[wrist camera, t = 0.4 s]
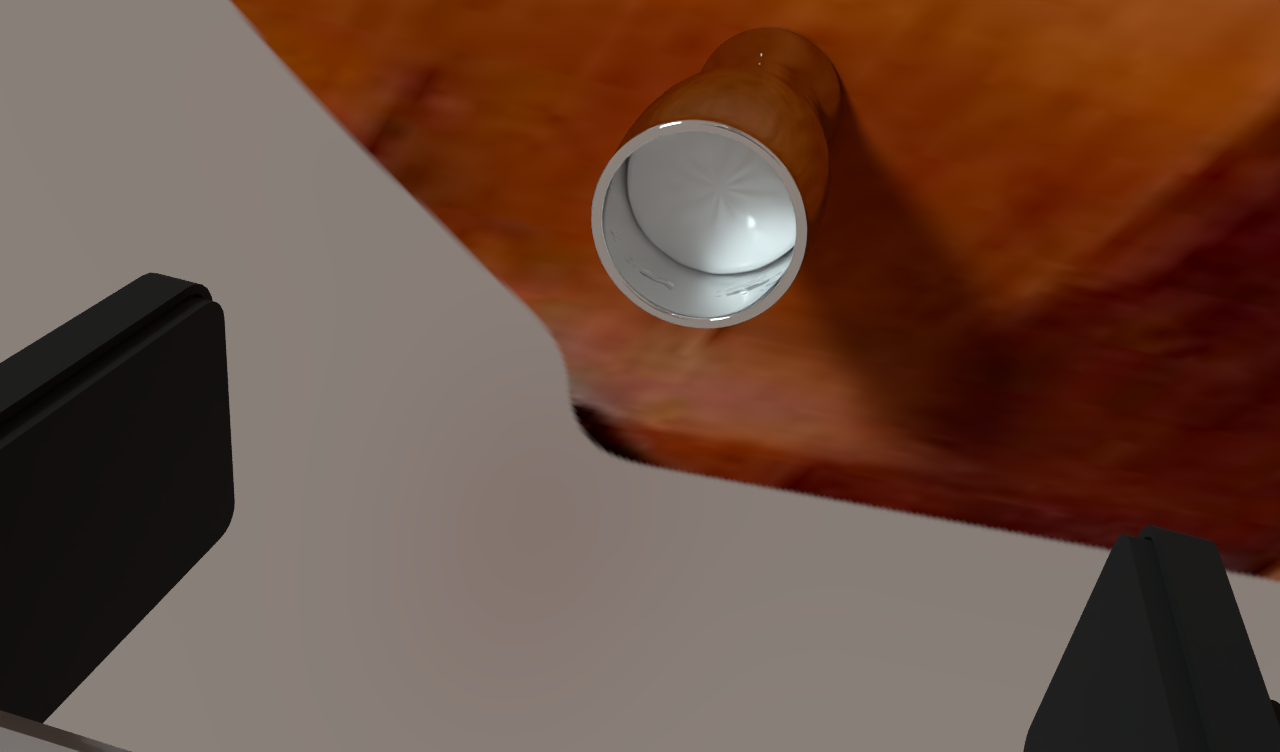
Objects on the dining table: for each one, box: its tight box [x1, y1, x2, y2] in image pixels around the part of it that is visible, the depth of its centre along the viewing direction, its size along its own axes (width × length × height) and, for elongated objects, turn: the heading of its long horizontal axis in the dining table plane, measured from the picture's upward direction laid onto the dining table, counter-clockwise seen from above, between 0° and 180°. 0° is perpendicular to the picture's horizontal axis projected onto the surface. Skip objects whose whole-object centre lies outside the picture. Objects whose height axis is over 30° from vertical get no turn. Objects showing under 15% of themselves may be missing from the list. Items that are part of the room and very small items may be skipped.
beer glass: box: [591, 28, 842, 328], centre depth 39 cm, size 7×7×15 cm
